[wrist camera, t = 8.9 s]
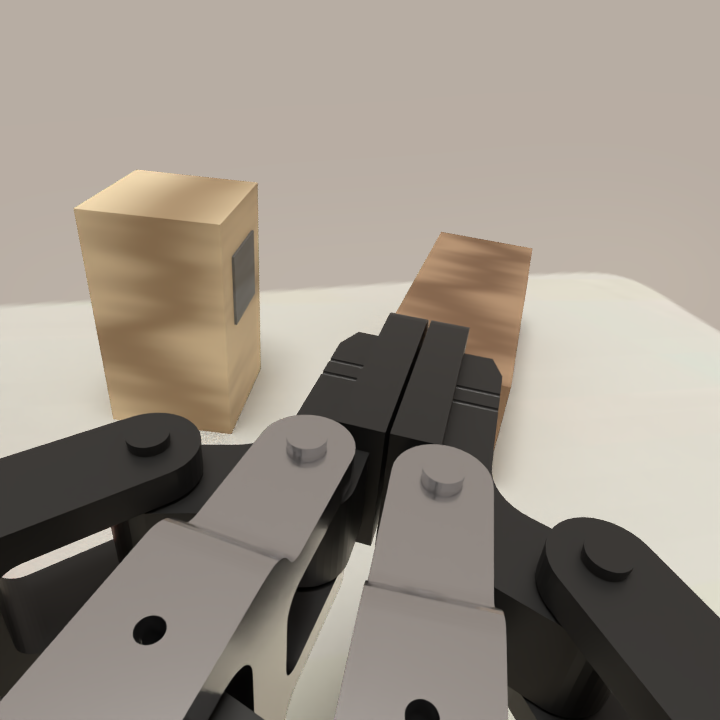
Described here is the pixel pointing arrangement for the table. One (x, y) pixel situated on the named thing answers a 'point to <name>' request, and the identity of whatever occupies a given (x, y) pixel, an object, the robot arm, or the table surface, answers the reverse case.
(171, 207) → the maple block
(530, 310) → the table surface
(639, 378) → the table surface
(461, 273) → the walnut block
